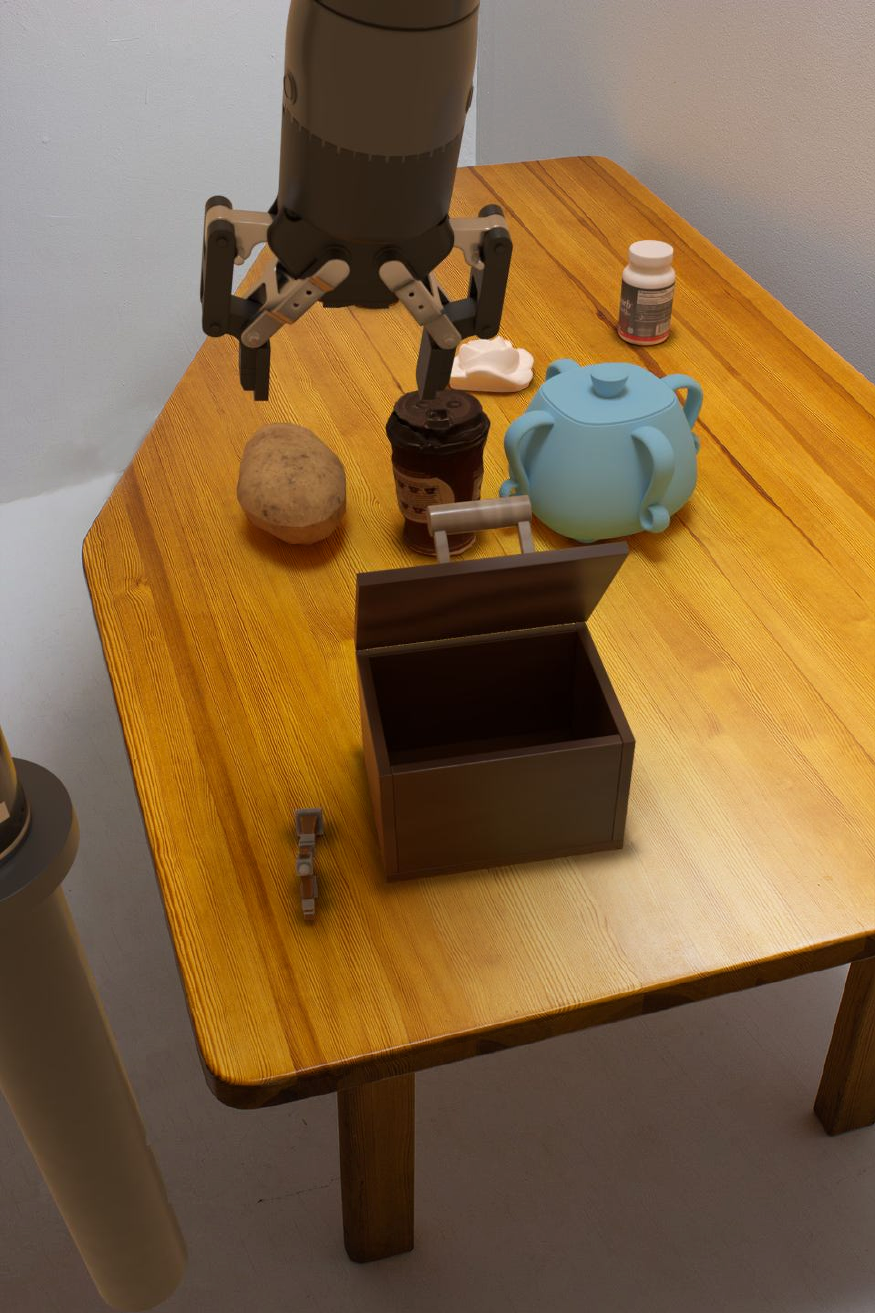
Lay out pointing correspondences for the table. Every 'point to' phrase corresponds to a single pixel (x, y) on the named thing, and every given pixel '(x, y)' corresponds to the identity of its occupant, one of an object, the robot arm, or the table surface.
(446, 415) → the coffee cup
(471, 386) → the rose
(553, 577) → the lid
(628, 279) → the pill bottle
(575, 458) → the decorative pot
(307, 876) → the wooden post with brackets
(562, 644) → the wooden storage box
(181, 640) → the table surface
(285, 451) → the potato
